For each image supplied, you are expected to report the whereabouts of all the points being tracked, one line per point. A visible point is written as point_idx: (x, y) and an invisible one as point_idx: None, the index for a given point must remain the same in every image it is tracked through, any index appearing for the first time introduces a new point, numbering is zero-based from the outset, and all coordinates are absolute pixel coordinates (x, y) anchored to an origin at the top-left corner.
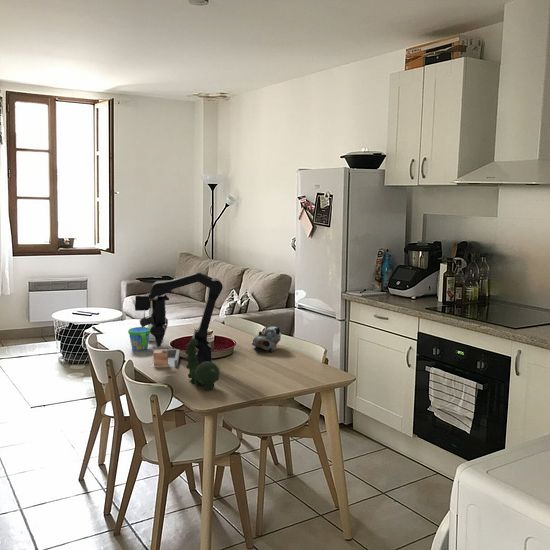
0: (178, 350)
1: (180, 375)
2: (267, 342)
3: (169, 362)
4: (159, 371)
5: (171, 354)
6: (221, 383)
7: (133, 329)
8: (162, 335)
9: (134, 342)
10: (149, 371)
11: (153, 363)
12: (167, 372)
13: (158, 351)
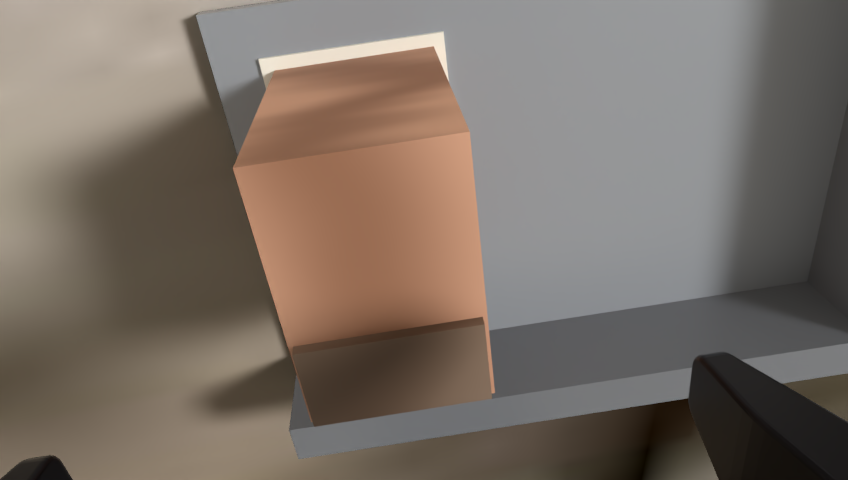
0: (822, 369)
1: (6, 467)
2: None
3: (496, 258)
4: (81, 205)
5: (838, 227)
6: None
7: None
8: None
9: None
10: (27, 45)
11: (444, 20)
12: (70, 316)
13: (395, 248)
